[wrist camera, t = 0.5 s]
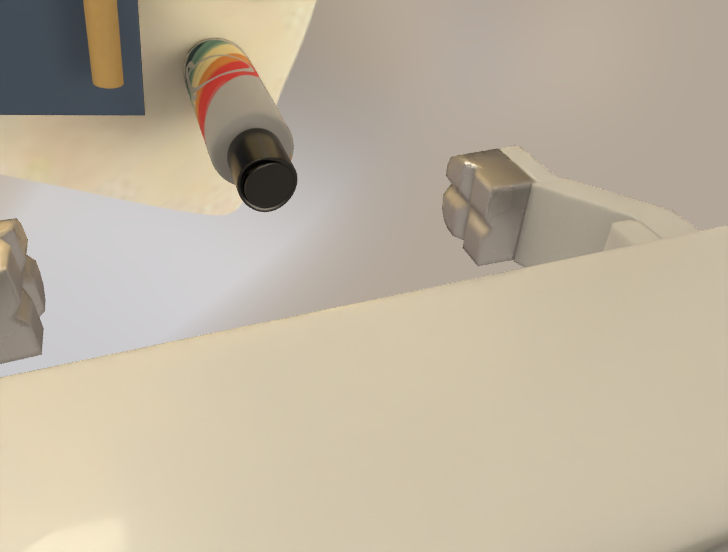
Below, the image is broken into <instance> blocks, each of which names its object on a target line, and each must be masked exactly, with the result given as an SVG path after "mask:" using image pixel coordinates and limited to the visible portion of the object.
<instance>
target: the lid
mask: <svg viewBox="0 0 728 552" xmlns="http://www.w3.org/2000/svg"><path fill="white" fill-rule="evenodd" d="M0 115H145V108H144V92H143V76H142V61H141V45H140V30H139V14H138V0H0Z"/></svg>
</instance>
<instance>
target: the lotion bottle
mask: <svg viewBox="0 0 728 552" xmlns="http://www.w3.org/2000/svg"><path fill="white" fill-rule="evenodd" d="M184 79H185V83H186V87H187V90H188V93H189V96H190V99H191V102H192V105H193V108H194V111H195V114H196V117H197V120H198V123H199V126H200V129H201V132H202V135H203V138H204V141H205V144H206V147H207V150H208V153H209V156H210V158H211V161H212V163H213V166H214V167H215V169H216V170H217V172H218V173H219V174H220V175H221V176H222V177H223V178H224V179H225V180H227V181H228V182H230V183H232V184H234V185H236V188H237V191H238V193H239V195H240V197H241V199H242V200H243V202H244V203H245V204H246V205H247V206H249V207H250V208H252V209H254V210H256V211H260V212H269V211H273V210H276V209H278V208H280V207H281V206H283V205H284V204H285V203H286V202H287V201H288V200H289V199H290V198H291V196H292V195H293V193H294V191H295V189H296V185H297V173H296V170H295V168H294V166H293V164H292V162H291V159H292V156H293V150H294V145H293V138H292V135H291V132H290V130H289V128H288V126H287V124H286V122H285V121H284V119H283V117H282V115H281V114H280V112H279V110H278V108H277V106H276V105H275V103H274V101H273V100H272V98H271V96H270V94H269V93H268V91H267V89H266V88H265V86H264V84H263V82H262V81H261V79H260V77H259V75H258V74H257V72H256V70H255V69H254V67H253V65H252V63H251V62H250V60H249V58H248V57H247V55H246V54H245V53H244V51H243V50H242V49H241V48H240V47H239V46H237V45H236V44H234V43H233V42H231V41H228V40H225V39H221V38H211V39H207V40H204V41H201V42H200V43H198V44H196V45H195V46H194V47H193V48H192V49H191V50H190V52H189V53H188V55H187V57H186V59H185V62H184Z"/></svg>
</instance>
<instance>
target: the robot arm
mask: <svg viewBox="0 0 728 552" xmlns="http://www.w3.org/2000/svg"><path fill="white" fill-rule="evenodd" d="M446 176H447V178H448V179H449V181H450V182H451V185H450V186H449V188H448V189H447V190H446V192H445V193H444V195H443V205H442V210H443V217H444V221H445V224H446V226H447V228H448V230H449V231H450V232H451V234H452V235H453V236H455V237H457V238H460V239H462V240H464V244H463V249H464V250H465V251H466V252H467V254H468V255H469V256H470V257H471V258H472V260H473V261H474V262H475V263H476V265H477V266H480V265H487V264H492V263H498V262H503V261H509V260H514V262H516V263H518V264H519V265H521V266H523V267H525V268H521V269H516V270H511V271H506V272H502V273H497V274H492V275H487V276H483V277H478V278H473V279H468V280H464V281H459V282H454V283H449V284H445V285H440V286H435V287H431V288H426V289H421V290H416V291H411V292H406V293H401V294H397V295H392V296H387V297H383V298H378V299H373V300H368V301H363V302H358V303H354V304H349V305H344V306H339V307H335V308H330V309H325V310H320V311H315V312H311V313H306V314H302V315H296V316H292V317H287V318H282V319H277V320H273V321H268V322H263V323H258V324H253V325H249V326H244V327H239V328H234V329H229V330H225V331H220V332H215V333H210V334H206V335H201V336H196V337H191V338H186V339H182V340H177V341H172V342H167V343H163V344H158V345H153V346H149V347H143V348H139V349H134V350H129V351H125V352H120V353H115V354H110V355H105V356H100V357H96V358H91V359H86V360H82V361H76V362H72V363H67V364H62V365H57V366H53V367H48V368H43V369H38V370H33V371H29V372H24V373H19V374H14V375H10V376H5V377H0V552H728V225H727V226H722V227H717V228H712V229H708V230H703V231H700V230H699V229H697V228H696V227H695V226H693V225H692V224H690V223H689V222H688V221H686V220H685V219H684V218H682V217H681V216H680V215H678V214H677V213H676V212H674V211H673V210H670V209H667V208H663V207H660V206H657V205H654V204H650V203H647V202H644V201H640V200H637V199H634V198H630V197H627V196H624V195H620V194H617V193H614V192H610V191H606V190H604V189H600V188H597V187H593V186H590V185H587V184H584V183H580V182H577V181H574V180H570V179H567V178H565V179H559V178H558V177H557V176H556V175H554V174H553V173H552V172H551V171H549V170H548V169H547V168H546V167H545V166H543V165H542V164H541V163H540V162H539V161H538V160H536V159H535V158H534V157H533V156H532V155H530V154H529V153H528V152H527V151H525V150H524V149H523V148H522V147H520V146H515V145H514V146H509V147H504V148H499V149H492V150H487V151H481V152H475V153H469V154H463V155H457V156H453V157H451V158H450V161H449V163H448V166H447V173H446ZM27 243H28V239H27V237H26V234H25V232H24V229H23V227H22V225H21V223H20V222H19V221H18V219H8V220H0V364H2V363H7V362H11V361H15V360H20V359H24V358H28V357H33V356H38V355H41V354H42V342H43V326H42V323H41V321H40V318H39V317H40V315H42V314H43V313H44V311H45V294H44V286H43V282H42V278H41V274H40V271H39V268H38V265H37V263H36V260H34V259H32V258H31V257H29V256H28V255H26V252H27Z"/></svg>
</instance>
